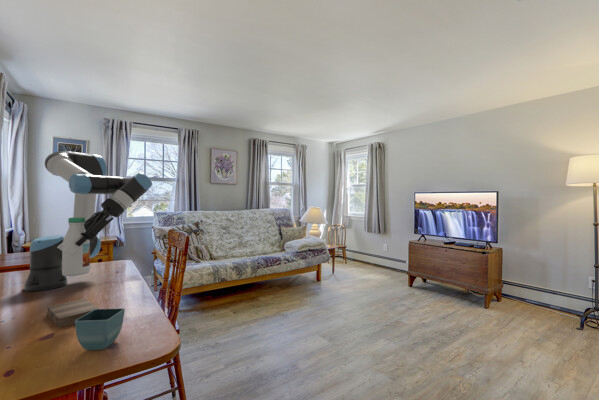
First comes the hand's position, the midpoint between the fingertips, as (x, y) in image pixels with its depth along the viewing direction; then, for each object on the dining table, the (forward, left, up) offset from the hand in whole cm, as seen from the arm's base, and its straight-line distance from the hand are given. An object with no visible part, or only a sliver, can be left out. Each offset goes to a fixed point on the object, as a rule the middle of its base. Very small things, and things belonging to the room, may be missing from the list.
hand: (64, 251), depth 98 cm
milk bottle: (0, +4, -9) cm, 9 cm away
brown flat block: (0, +3, -23) cm, 24 cm away
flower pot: (+31, +2, -24) cm, 39 cm away
